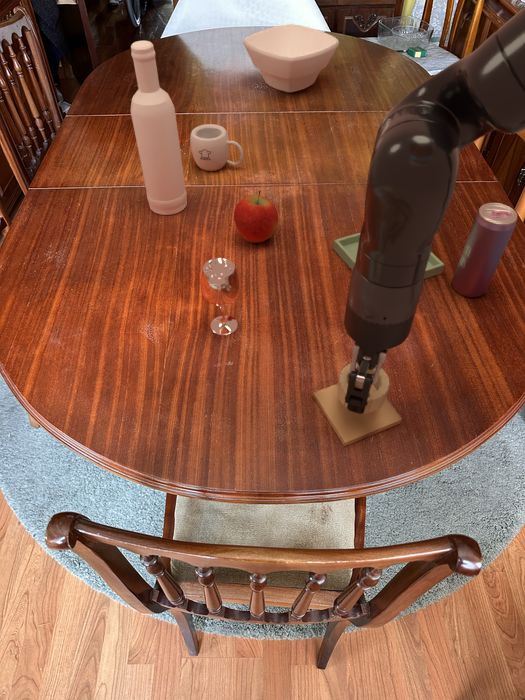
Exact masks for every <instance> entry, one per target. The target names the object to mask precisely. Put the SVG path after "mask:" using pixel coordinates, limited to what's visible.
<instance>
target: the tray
mask: <svg viewBox="0 0 525 700" xmlns="http://www.w3.org/2000/svg"><path fill="white" fill-rule="evenodd" d="M360 233H361V232H358V233H353V234H350V235H347V236H343V237H340V238H337V239H334V241H333V250H334V251H335V253H336V254H337V255H338V256H339V257H340V258H341V259H342V261H343V262H344V263H345V264H346V265H347V266H348V268H349V269H350V270H351V271H353V268H354V266H355V262H356V256H357V250H358V243H359V238H360ZM444 268H445V262H442V260H440V258H438V257H437V256H436V255H435V254H434V253H433V252H432V251H431V253H430V256H429V260H428V263H427V267H426V270H425V274H424V280H426V279H428V278H431V277H434V276H438V275H441V274H443V271H444Z"/></svg>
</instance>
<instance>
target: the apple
mask: <svg viewBox="0 0 525 700" xmlns="http://www.w3.org/2000/svg"><path fill="white" fill-rule="evenodd" d="M261 191H262V190H259V191H258V195H257V194H255V195H254V194H251V195H247V196H245V197H243V198H242V199H241V200H239V202H238V203H237V204H236V206H235V208H234V211H233V220H234V225H235V227H236V229H237V231H238V233H239V235H240V236H241V237H242V238H243V239H244V240H245V241H247V242H249V243H254V244H255V243H261V242H265V241H267V240H269V239H270V238H272V236H273V235H274V234H275V232H276V231H277V229H278V226H279V214H278V210H277V207H276V206H275V204H274V203H273V202H272V201H271V200H270V199H268V198H267V197H266V196H263V195H261Z"/></svg>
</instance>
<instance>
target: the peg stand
mask: <svg viewBox="0 0 525 700" xmlns="http://www.w3.org/2000/svg"><path fill="white" fill-rule="evenodd" d="M376 391H378V390H377V389H376V388H375V386H374V385H372V386H371V390H370V394H371V393H374V392H376ZM312 398H313V399H314V400H315V402H316V404H317V405H318V407H319V408H320V410H321V412H322V413H323V415H324V416H325V418H326V420H327V421H328V423H329V424H330V426H331V428H332V429H333V431H334V433H335V434H336V436H337V437H338V439H339V440H340V442H341V444H342V445H343V447H347V446H349V445H352V444H354V443H357V442H359V441H361V440H364V439H367V438H368V437H371V436H373V435H376V434H378V433H380V432H383V431H385V430H388V429H391V428H392V427H395V426H397V425H400V424H401V423H402V421H403V418H402V417H401V416H400V414H399V413H398V411H397V410H396V408H394V407H395V406H393V404H392V403H391V402H390V401H389V399H388V398H387V397H386V400H385V402H384V404H383V405H382V406H381V408H379V409H378V410H376V411H373V412H371V413H369V412H368V413H363V414H358V413H355V412H351V411H349V410H348V409H347V407H345V405H343V404H342V402H341V401H340V399H339V398H338V383H336V384H332V385H330V386H327V387H324V388H322V389H319V390H316V391H313V392H312Z"/></svg>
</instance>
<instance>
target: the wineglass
mask: <svg viewBox="0 0 525 700" xmlns="http://www.w3.org/2000/svg"><path fill="white" fill-rule="evenodd" d="M201 270H202V271H201V274H200V288H201V293H202V295H203V298H204V299H205V300H206V301H207V302H208V303H209V304H210V305H213V306H218V307H219V309H220V311H221V312H220V313H221V315H219V316H216V317H214V318H213V319H212V320H211V322H210V326H209V327H210V330H211V331H212V332H213V333H214V334H215V335H218V336H228V335H231V334H234V333H235V332H236V331H237V329H238V327H239V323H238V321H237V319H236V318H235V317H233V316H231V315H227V314H226V315H225V310H226V306H228V305H230V304H232V303H233V302H234V301H235V300H236V299H237V298H238V296H239V294H240V290H241V289H240V287H241V285H240V284H241V282H240V278H239V274H238V271H237V268H236V265H235V263H234V262H233V261H232V260H230V259H228V258H224V257H215V258H211V259H208V260H207V261H206V262H204V264H203V266H202V269H201Z"/></svg>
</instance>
